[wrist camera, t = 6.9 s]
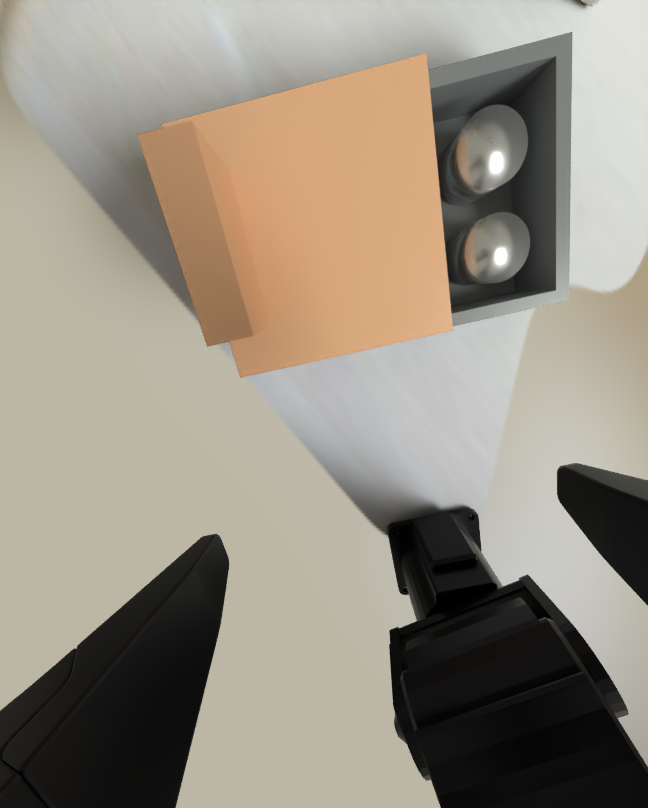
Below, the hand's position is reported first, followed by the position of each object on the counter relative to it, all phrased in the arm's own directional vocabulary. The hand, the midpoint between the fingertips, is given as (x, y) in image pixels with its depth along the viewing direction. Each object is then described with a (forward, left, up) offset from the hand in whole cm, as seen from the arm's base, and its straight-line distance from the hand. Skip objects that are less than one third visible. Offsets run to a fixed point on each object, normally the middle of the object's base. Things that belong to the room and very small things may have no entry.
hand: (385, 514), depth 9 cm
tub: (+8, -6, -13) cm, 16 cm away
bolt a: (+6, -8, -12) cm, 16 cm away
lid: (+8, 0, -9) cm, 12 cm away
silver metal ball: (+10, -8, -12) cm, 18 cm away
